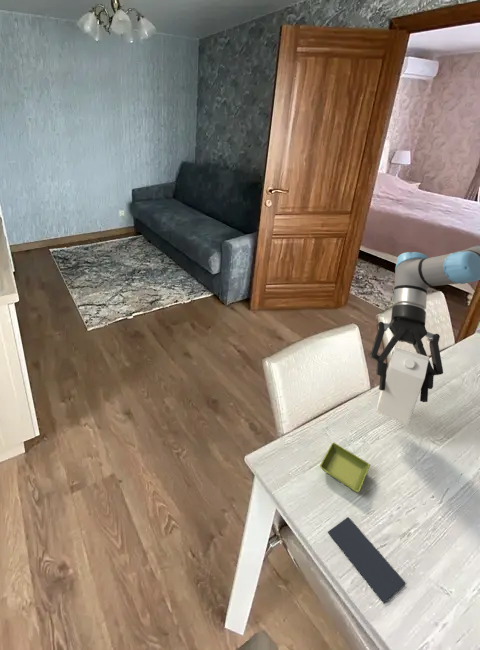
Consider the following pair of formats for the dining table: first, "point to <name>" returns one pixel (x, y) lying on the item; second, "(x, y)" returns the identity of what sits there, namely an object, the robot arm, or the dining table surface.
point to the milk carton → (402, 384)
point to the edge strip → (366, 559)
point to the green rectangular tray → (345, 467)
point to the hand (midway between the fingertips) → (402, 395)
